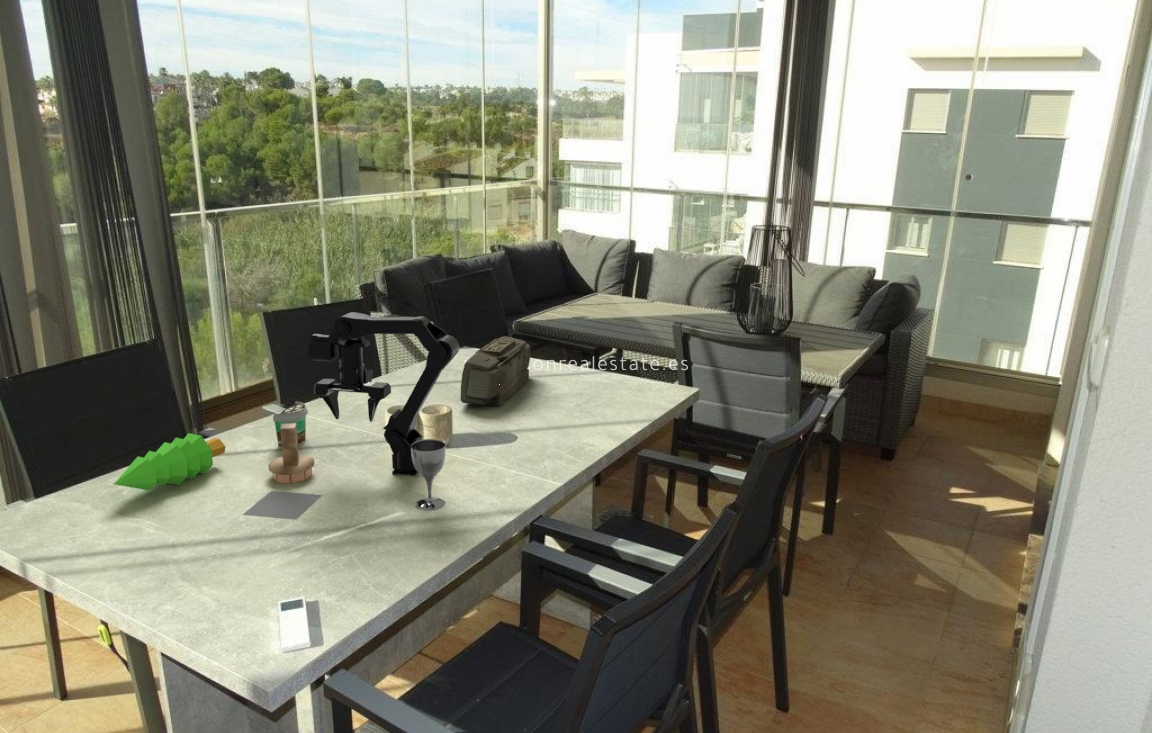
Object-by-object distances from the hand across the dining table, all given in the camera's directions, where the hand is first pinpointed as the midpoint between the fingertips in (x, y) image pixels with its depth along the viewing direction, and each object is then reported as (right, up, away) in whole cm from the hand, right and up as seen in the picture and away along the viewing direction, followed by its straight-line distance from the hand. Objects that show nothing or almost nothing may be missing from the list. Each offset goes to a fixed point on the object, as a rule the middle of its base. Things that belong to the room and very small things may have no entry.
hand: (354, 420), depth 206 cm
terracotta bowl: (-15, -14, -4) cm, 21 cm away
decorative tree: (-43, -15, -9) cm, 47 cm away
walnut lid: (-15, -11, -5) cm, 19 cm away
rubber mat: (-11, -19, -20) cm, 30 cm away
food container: (-22, -8, +20) cm, 31 cm away
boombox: (+31, +5, +69) cm, 76 cm away
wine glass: (+23, -19, -17) cm, 34 cm away
